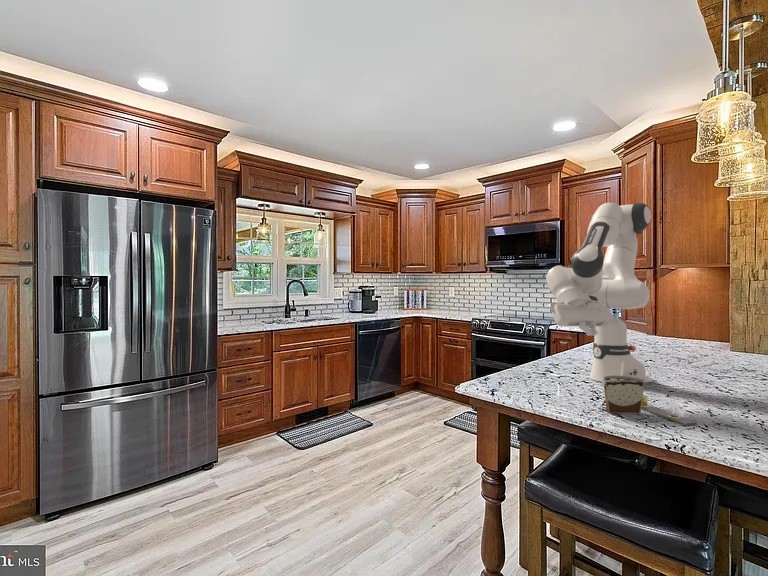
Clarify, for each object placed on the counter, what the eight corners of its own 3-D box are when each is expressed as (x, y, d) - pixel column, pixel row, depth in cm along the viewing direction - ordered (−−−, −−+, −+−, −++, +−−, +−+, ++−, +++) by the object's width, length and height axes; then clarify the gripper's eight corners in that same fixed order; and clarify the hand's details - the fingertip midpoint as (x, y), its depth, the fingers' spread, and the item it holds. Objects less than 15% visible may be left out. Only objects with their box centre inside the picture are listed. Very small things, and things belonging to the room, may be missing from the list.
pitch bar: (636, 402, 130) (636, 391, 130) (697, 424, 110) (697, 411, 110) (624, 403, 129) (625, 392, 129) (684, 425, 109) (684, 412, 109)
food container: (633, 407, 125) (633, 375, 125) (645, 413, 119) (646, 380, 119) (593, 406, 125) (593, 375, 125) (603, 413, 119) (603, 380, 119)
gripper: (551, 296, 137) (570, 328, 127) (602, 297, 141) (624, 328, 132) (543, 308, 141) (560, 340, 132) (593, 309, 146) (613, 340, 136)
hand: (592, 334), depth 132 cm, fingers closed
